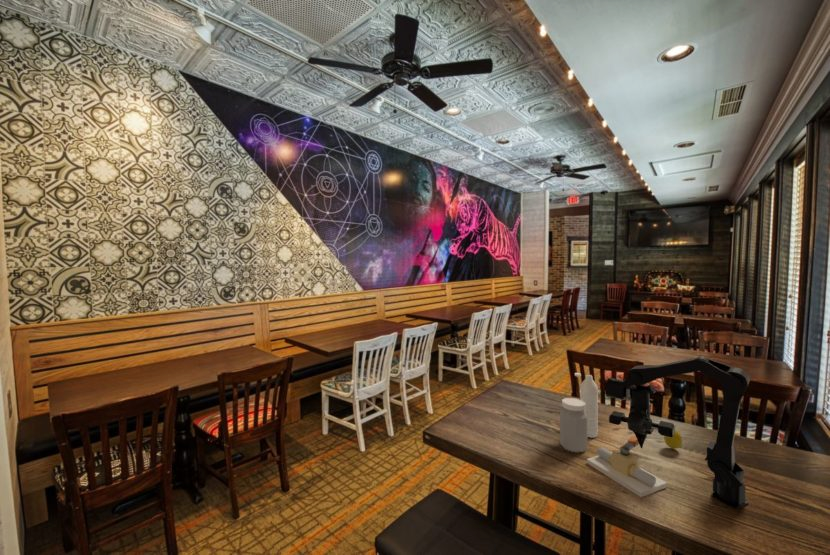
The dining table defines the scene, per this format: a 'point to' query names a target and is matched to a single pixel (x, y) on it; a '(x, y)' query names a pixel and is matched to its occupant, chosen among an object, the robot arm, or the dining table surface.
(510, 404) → the dining table surface
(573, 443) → the jar
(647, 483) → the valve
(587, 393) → the water bottle
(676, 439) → the lemon
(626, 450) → the lever
